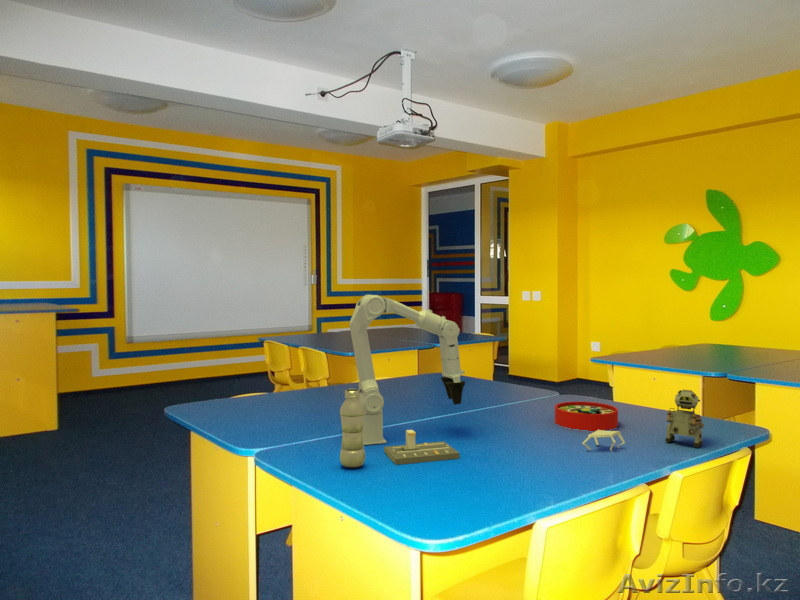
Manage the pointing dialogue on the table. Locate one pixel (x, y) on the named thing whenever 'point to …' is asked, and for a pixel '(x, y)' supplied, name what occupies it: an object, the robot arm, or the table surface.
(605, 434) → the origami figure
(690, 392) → the figurine
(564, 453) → the table surface
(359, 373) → the robot arm
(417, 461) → the console
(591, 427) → the red round tray
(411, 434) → the fader
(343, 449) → the plastic bottle
